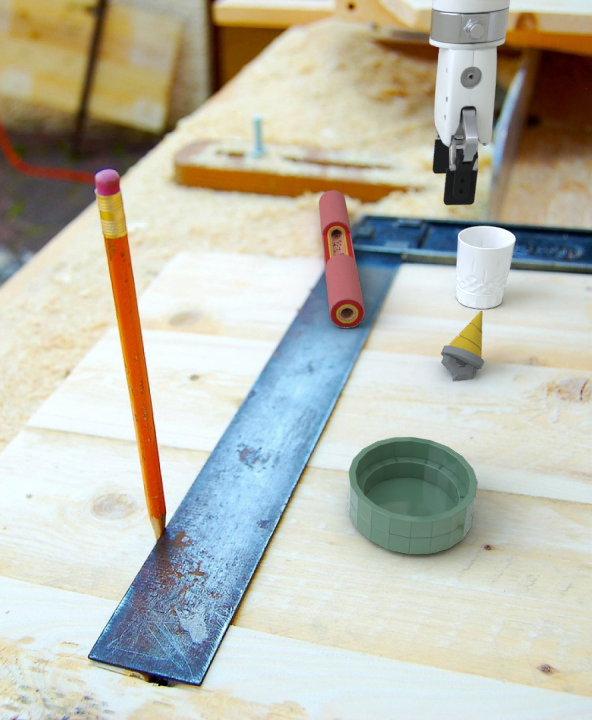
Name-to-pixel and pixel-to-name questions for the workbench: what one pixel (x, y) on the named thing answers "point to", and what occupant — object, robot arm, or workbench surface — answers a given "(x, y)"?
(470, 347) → the drill bit
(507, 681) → the workbench surface
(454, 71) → the robot arm
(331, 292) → the blood vessel
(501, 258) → the white cup
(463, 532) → the bowl
